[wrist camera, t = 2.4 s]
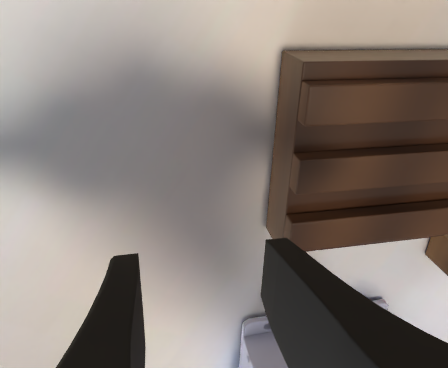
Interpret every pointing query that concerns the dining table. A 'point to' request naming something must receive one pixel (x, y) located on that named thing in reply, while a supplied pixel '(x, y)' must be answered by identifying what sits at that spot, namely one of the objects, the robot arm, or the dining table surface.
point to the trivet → (360, 148)
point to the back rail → (439, 252)
